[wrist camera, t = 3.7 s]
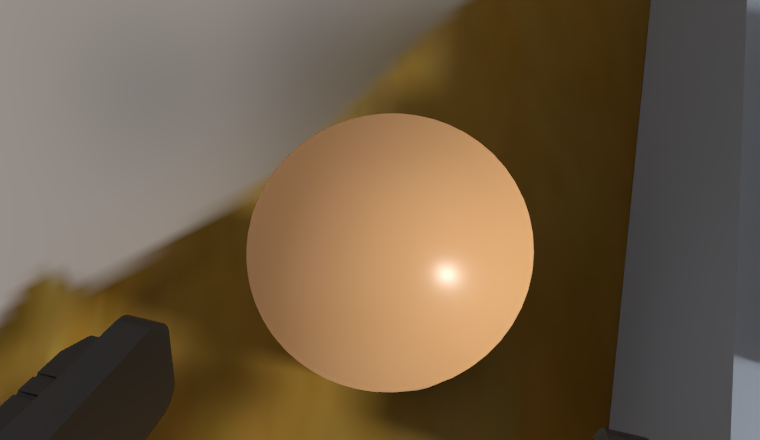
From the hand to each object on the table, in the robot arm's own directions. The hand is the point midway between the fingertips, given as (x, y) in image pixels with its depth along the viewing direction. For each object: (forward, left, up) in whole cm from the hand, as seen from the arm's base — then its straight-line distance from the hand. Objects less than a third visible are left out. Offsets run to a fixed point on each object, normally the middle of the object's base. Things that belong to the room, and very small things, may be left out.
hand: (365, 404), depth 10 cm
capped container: (0, -3, -8) cm, 9 cm away
